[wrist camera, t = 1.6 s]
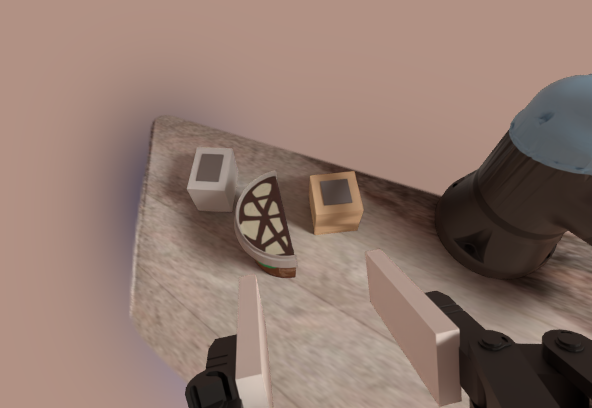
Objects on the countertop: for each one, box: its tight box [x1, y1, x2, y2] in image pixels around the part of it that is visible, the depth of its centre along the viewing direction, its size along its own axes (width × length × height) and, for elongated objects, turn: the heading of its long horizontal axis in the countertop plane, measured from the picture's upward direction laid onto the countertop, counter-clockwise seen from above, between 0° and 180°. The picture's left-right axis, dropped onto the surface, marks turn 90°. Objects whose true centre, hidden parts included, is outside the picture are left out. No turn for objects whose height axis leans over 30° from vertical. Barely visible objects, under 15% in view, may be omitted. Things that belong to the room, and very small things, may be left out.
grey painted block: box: [187, 147, 239, 212], centre depth 50 cm, size 5×7×6 cm
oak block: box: [309, 171, 364, 235], centre depth 48 cm, size 6×6×6 cm
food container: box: [234, 170, 297, 278], centre depth 44 cm, size 12×6×10 cm, turn 13°
